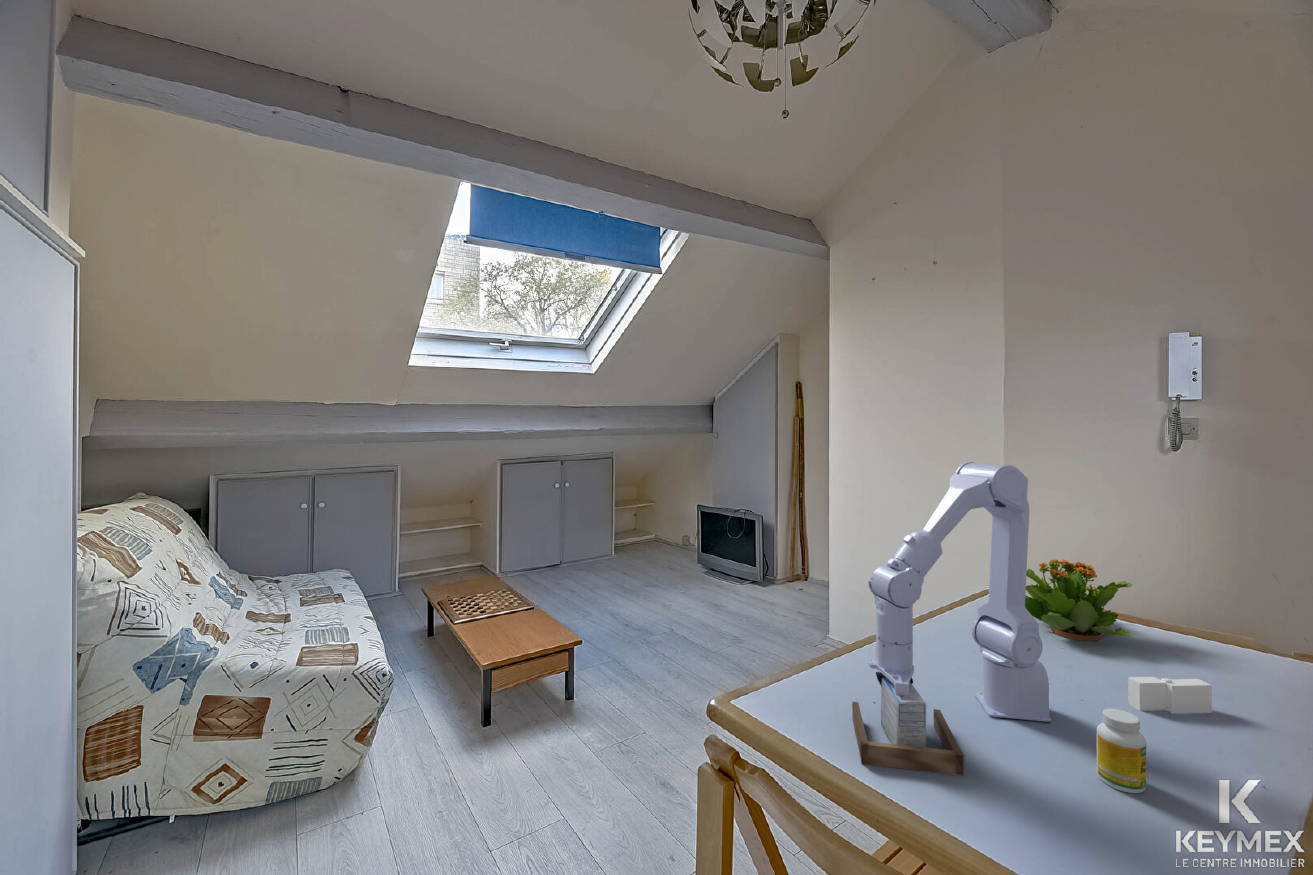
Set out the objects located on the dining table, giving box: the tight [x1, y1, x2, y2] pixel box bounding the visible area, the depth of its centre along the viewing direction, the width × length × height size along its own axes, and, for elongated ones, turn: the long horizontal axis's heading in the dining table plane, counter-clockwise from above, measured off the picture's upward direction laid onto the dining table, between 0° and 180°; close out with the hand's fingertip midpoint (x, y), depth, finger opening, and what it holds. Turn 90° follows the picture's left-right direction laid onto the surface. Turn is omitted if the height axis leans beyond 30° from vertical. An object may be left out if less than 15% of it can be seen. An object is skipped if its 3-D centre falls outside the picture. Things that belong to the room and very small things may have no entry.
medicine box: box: [880, 678, 927, 748], centre depth 88 cm, size 8×4×9 cm, turn 176°
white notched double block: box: [1127, 676, 1213, 714], centre depth 97 cm, size 15×11×6 cm
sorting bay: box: [851, 701, 965, 777], centre depth 88 cm, size 14×13×3 cm
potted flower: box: [1025, 558, 1133, 642], centre depth 130 cm, size 25×24×18 cm
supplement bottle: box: [1096, 708, 1147, 794], centre depth 78 cm, size 5×5×10 cm
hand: (894, 717), depth 94 cm, fingers closed, pressing on medicine box
